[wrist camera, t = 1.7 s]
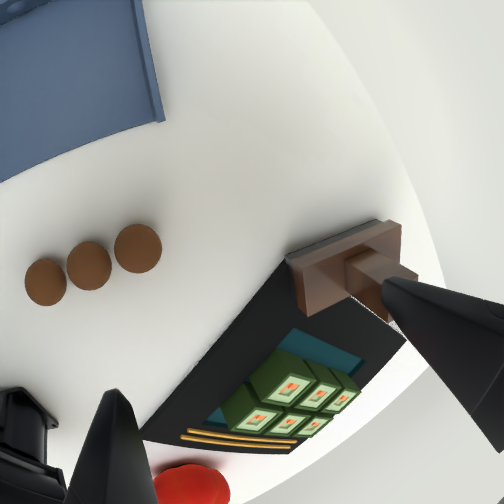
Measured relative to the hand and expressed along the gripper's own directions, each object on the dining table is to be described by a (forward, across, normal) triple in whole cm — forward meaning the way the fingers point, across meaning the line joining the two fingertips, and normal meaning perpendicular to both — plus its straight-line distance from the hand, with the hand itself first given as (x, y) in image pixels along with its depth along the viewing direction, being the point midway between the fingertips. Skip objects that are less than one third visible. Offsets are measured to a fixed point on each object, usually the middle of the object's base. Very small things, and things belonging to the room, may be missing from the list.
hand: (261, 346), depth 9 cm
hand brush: (+13, -11, +8) cm, 19 cm away
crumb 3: (+12, +4, +1) cm, 12 cm away
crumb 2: (+12, +7, +1) cm, 14 cm away
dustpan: (+13, +7, -16) cm, 21 cm away
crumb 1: (+12, +10, +1) cm, 16 cm away
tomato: (+13, +13, +35) cm, 40 cm away
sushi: (+13, -4, +24) cm, 28 cm away
